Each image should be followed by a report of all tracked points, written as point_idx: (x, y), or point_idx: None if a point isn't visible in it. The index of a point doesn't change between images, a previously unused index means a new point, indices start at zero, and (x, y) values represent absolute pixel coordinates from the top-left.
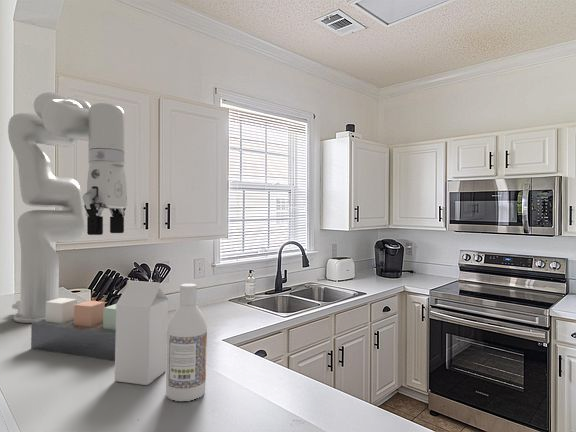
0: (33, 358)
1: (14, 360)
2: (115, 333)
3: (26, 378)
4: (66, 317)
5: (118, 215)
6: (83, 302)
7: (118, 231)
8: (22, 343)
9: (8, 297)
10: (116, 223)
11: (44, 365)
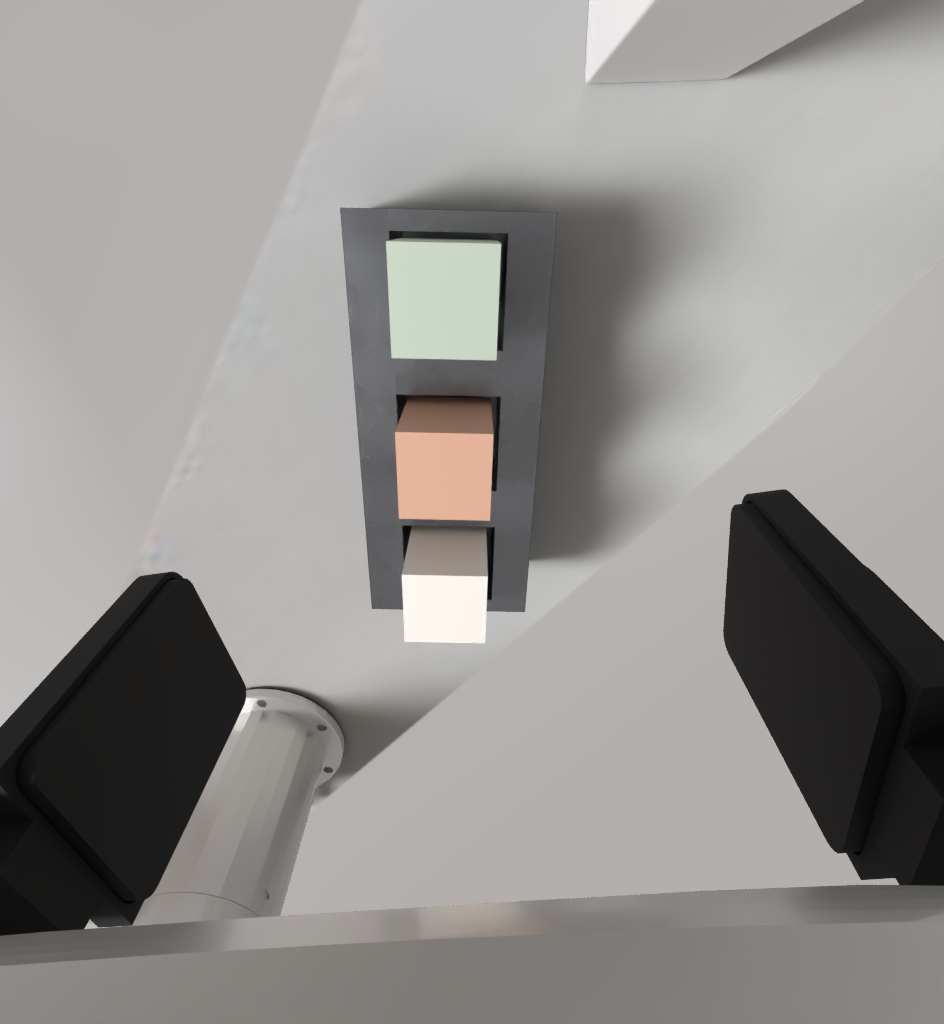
0: (582, 501)
1: (607, 535)
2: (554, 225)
3: (723, 404)
4: (462, 540)
5: (31, 860)
6: (439, 513)
7: (201, 620)
8: None
9: None
10: (153, 736)
11: (625, 430)
